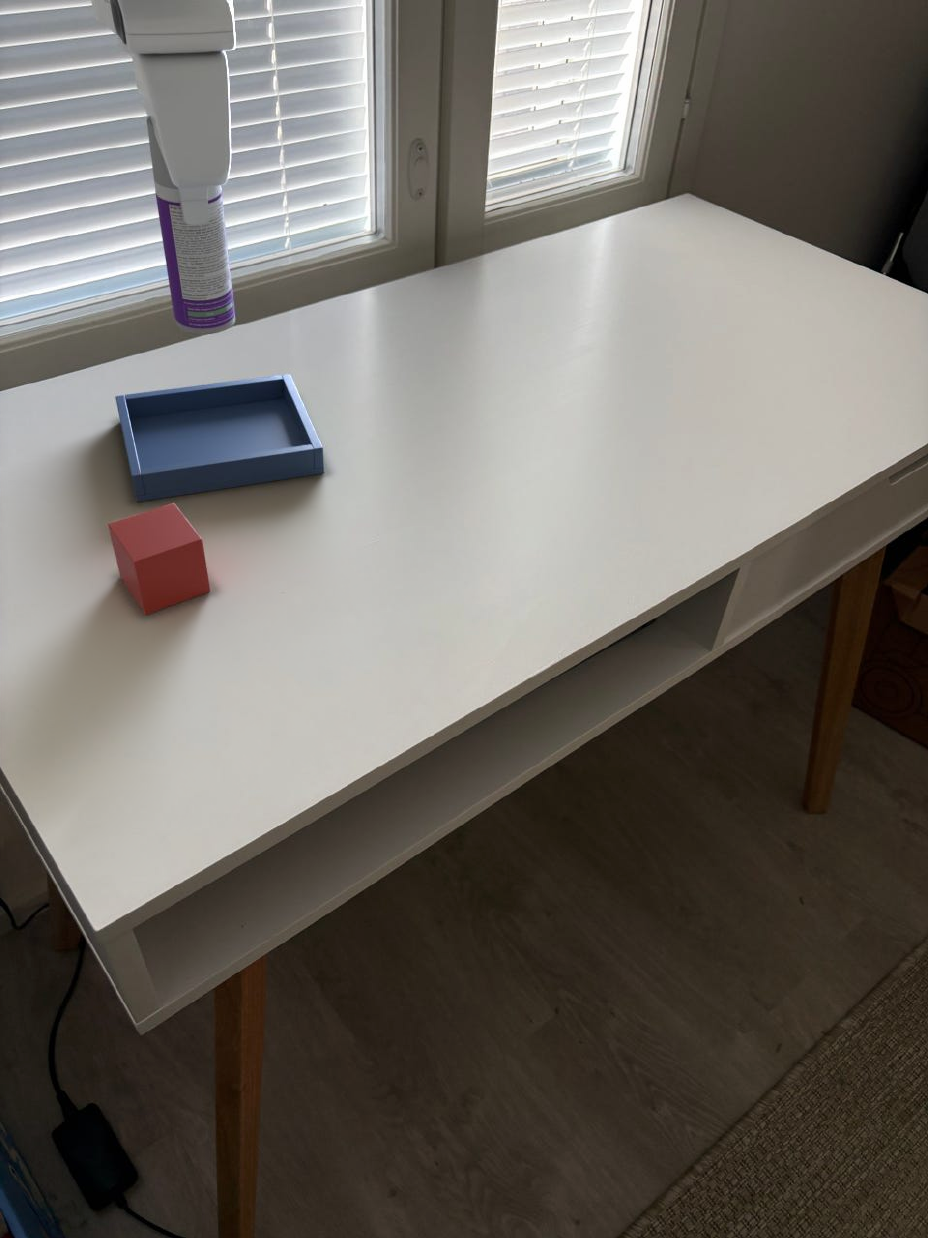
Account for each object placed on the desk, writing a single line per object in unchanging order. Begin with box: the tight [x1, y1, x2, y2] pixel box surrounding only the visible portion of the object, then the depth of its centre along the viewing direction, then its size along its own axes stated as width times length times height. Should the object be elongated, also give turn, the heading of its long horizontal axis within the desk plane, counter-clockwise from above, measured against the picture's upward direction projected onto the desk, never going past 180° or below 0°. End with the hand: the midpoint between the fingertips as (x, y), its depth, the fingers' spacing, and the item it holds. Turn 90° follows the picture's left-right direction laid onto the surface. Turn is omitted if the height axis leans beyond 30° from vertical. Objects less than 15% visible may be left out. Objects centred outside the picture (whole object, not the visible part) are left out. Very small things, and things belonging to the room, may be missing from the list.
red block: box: [107, 502, 211, 616], centre depth 73 cm, size 5×5×5 cm
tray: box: [114, 373, 325, 503], centre depth 88 cm, size 16×13×3 cm
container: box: [146, 116, 236, 335], centre depth 75 cm, size 5×5×15 cm
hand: (189, 205), depth 74 cm, fingers closed on container, 5 cm apart
